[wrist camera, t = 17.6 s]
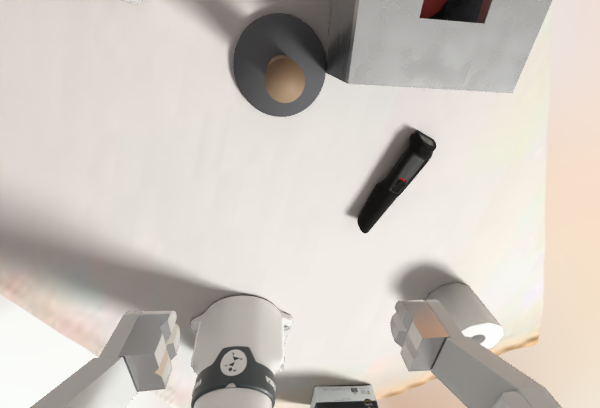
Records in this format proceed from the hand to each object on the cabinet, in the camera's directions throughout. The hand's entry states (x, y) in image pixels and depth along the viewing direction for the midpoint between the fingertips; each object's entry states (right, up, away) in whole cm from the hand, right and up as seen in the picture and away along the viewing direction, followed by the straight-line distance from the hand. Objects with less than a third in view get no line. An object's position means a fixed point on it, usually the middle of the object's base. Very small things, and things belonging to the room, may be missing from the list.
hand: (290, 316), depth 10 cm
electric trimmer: (+13, +8, +29) cm, 33 cm away
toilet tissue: (+29, -16, +44) cm, 54 cm away
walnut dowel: (-2, +19, +19) cm, 27 cm away
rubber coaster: (-2, +19, +20) cm, 28 cm away
